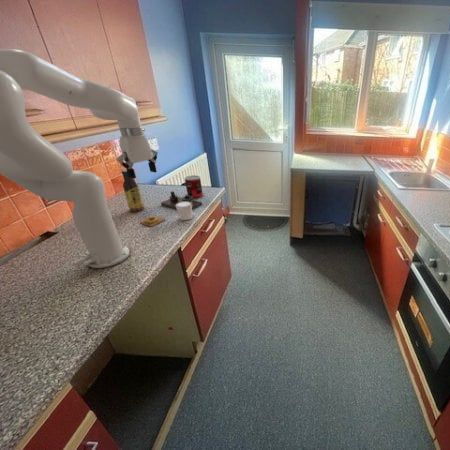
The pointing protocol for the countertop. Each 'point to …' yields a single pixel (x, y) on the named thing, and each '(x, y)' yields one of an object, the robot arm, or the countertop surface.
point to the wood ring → (187, 199)
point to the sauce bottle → (132, 193)
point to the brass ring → (151, 220)
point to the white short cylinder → (184, 210)
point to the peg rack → (175, 200)
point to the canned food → (193, 186)
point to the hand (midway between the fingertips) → (143, 174)
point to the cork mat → (152, 223)
